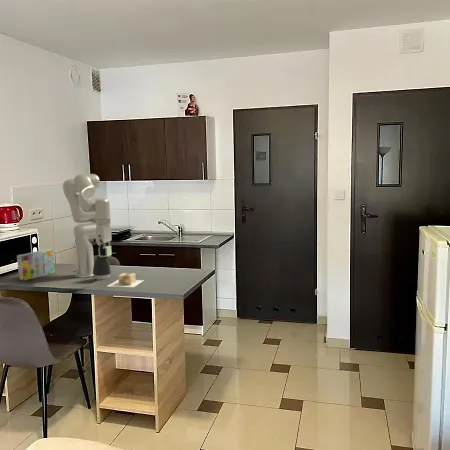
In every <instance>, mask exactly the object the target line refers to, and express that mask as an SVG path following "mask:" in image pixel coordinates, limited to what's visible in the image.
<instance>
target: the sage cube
mask: <svg viewBox="0 0 450 450" xmlns="http://www.w3.org/2000/svg"><path fill="white" fill-rule="evenodd" d="M105 250H106V256H100V249H99V246H98V255H99V257H108V258H109V257H111V256H112V255H113V254H112V245H111V246H105Z"/></svg>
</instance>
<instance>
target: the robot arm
mask: <svg viewBox="0 0 450 450" xmlns="http://www.w3.org/2000/svg"><path fill="white" fill-rule="evenodd" d="M100 183H101V182H100V177H99V176H98V175H97V174H95V173H83V174H77V175H75V177H74V178H70V179H69V178H68V179H66V180H64V182H63V183H62V188H63V189H62V190H63V193H64V196H65V198H66V199H67V202H68V204H69V208H70V212H71V215H72V220H73V222H74V223H76V224H77V225H75V226H74V227H73V235H74V239H75V247H76V248H75V249H76V260H77V268H73V269H72V273H75V277H76V278H80V279H81V278H83V279H85V278H92V277H94V275H93V267H94V262H95V260H94V258H95V257H94V248H93V244H92V243H91V242H90V241H89V240H93V239H94V240H95V243H96V244H97V246H98V247H99V248H98V250H99V249H100V256H106V250H105V246H111V247H112V245H111V243H112V240H113V239H112V235H113V234H112V227H111V224H112V223H111V222H112V221H111V208H110V199H108V198H103V197H94V196H95V194H96V191H97V190H96V189H98V188H99V186H100ZM77 193H78V194H77ZM92 197H94V198H92Z"/></svg>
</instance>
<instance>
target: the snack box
mask: <svg viewBox="0 0 450 450" xmlns="http://www.w3.org/2000/svg"><path fill="white" fill-rule="evenodd" d="M16 259H17V260H16V262H17V269H18V270H17V271H18V280H20V281H27V280H32V279H35V278H40V277H45V276H48V275H52V274H55V273H56V270H55V259H54V250H53V249H43V250H39V251H33V252H27V253H24V254H18V255H16Z"/></svg>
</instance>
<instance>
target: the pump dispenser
mask: <svg viewBox="0 0 450 450" xmlns="http://www.w3.org/2000/svg"><path fill="white" fill-rule="evenodd" d="M108 258H109V256H108V257H99V254H98V255H97V256H96V257H95V260H94V267H93V275H94V276H93V277H94V279H95V280H97V281H100V280H108V279H109V278H110V276H111V273H112V269H111V264H110V262H109V260H108Z"/></svg>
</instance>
